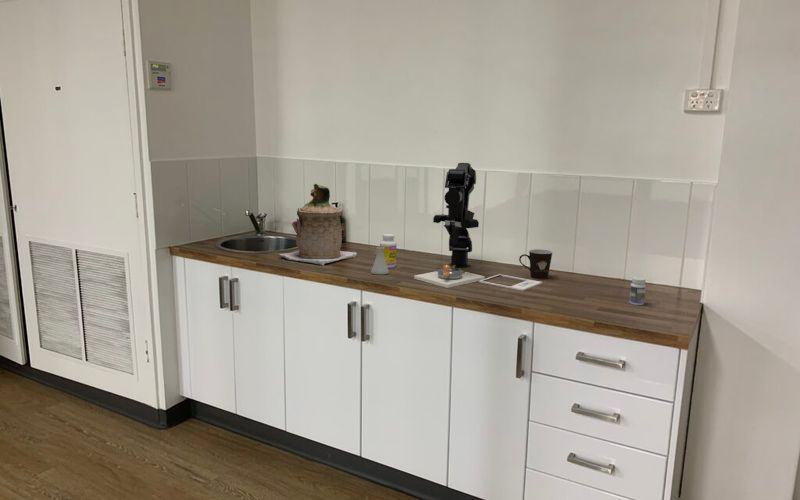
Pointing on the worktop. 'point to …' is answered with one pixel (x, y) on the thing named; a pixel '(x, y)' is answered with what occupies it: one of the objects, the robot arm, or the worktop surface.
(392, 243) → the supplement bottle
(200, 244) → the worktop surface
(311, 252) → the cookie jar
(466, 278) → the stand
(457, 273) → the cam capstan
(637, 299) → the pill bottle
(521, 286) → the photo frame
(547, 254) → the coffee mug
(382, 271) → the flask
